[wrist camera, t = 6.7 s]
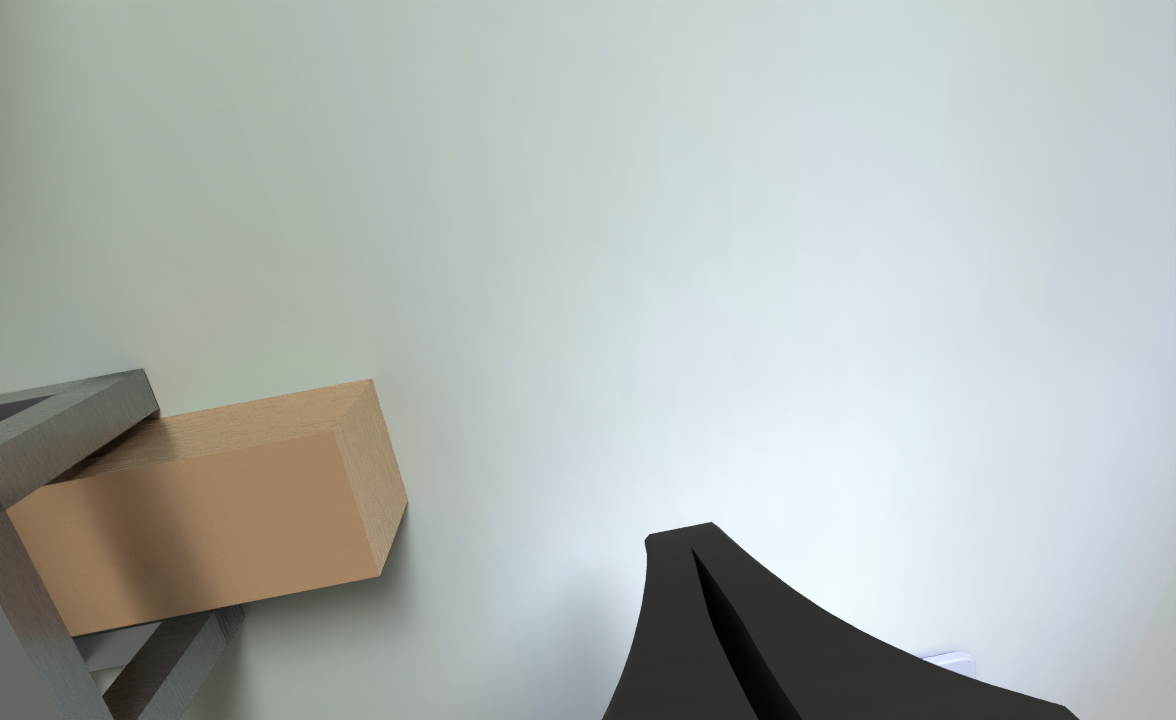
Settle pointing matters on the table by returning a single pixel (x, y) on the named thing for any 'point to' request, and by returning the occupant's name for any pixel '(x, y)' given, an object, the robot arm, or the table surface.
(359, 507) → the pine wood beam
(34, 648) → the gray metal beam bracket
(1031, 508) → the table surface
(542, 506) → the table surface
